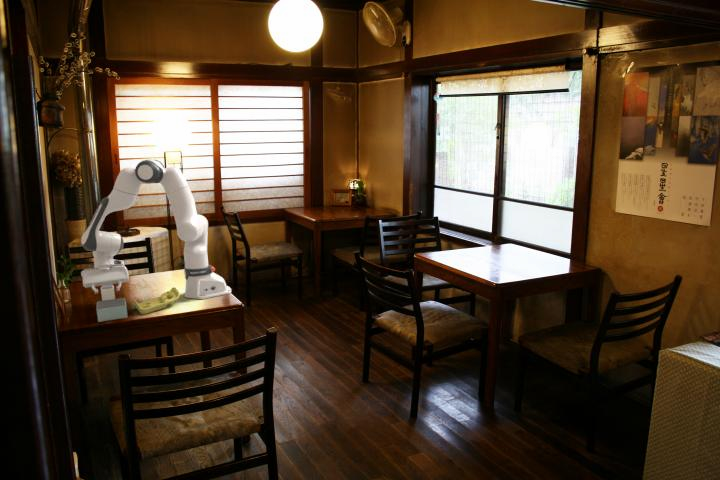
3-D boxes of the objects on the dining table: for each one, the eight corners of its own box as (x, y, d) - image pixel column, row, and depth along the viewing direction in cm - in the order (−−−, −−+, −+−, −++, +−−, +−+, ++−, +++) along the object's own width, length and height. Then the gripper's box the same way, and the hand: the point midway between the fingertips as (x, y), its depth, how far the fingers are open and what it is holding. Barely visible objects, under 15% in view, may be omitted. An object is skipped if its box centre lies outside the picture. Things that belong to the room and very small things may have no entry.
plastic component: (141, 310, 264) (132, 297, 270) (141, 322, 268) (132, 309, 274) (183, 297, 277) (173, 285, 282) (182, 309, 281) (172, 296, 286)
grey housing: (116, 305, 281) (113, 283, 279) (116, 308, 276) (113, 286, 273) (103, 307, 279) (100, 285, 277) (103, 310, 274) (100, 288, 271)
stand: (126, 309, 273) (125, 297, 272) (127, 317, 263) (126, 304, 261) (98, 314, 269) (96, 301, 268) (98, 321, 258) (96, 308, 257)
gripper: (80, 266, 277) (82, 291, 271) (126, 260, 286) (130, 285, 279) (81, 273, 282) (83, 298, 276) (127, 267, 290) (130, 291, 284)
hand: (107, 291), depth 277 cm, fingers open, 8 cm apart
